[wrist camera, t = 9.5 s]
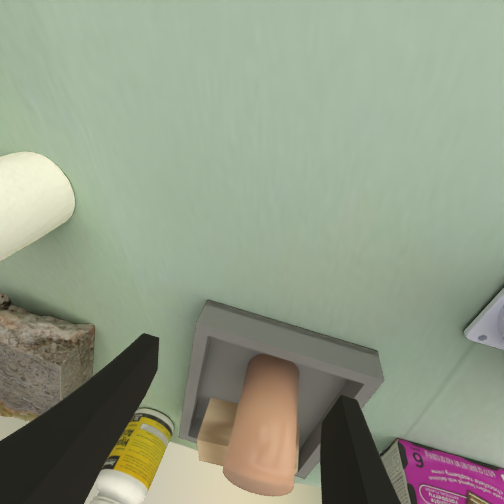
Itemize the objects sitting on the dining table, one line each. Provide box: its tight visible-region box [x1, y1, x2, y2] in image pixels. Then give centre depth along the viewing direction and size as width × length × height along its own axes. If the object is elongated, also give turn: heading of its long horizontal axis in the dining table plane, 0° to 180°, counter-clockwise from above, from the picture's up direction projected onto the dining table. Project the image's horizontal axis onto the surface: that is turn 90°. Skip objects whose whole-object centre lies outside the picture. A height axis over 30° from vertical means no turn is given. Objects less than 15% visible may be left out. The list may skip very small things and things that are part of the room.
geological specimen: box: [0, 292, 95, 422], centre depth 29 cm, size 11×6×15 cm
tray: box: [179, 300, 384, 479], centre depth 26 cm, size 14×18×3 cm
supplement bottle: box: [90, 408, 174, 504], centre depth 30 cm, size 5×5×10 cm
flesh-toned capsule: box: [223, 353, 300, 496], centre depth 21 cm, size 5×5×8 cm
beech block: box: [197, 398, 238, 466], centre depth 28 cm, size 4×4×4 cm
